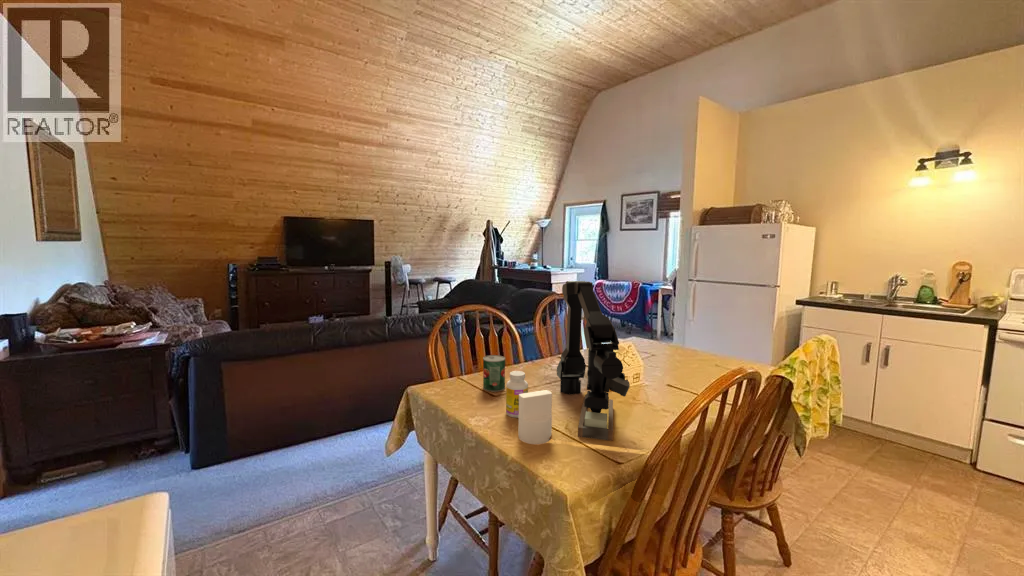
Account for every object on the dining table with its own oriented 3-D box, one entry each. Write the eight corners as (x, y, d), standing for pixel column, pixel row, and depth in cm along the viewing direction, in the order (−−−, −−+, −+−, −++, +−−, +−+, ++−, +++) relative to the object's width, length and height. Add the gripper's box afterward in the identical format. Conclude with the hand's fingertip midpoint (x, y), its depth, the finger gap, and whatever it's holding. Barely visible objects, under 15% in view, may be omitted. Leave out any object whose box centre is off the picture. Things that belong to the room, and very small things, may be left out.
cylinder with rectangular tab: (527, 446, 108) (527, 402, 106) (513, 432, 116) (513, 390, 114) (557, 440, 111) (558, 397, 110) (541, 426, 119) (542, 386, 118)
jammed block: (584, 434, 113) (584, 418, 112) (585, 426, 117) (585, 411, 117) (606, 436, 112) (606, 420, 111) (606, 429, 116) (607, 413, 116)
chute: (577, 439, 112) (578, 427, 111) (583, 407, 133) (583, 396, 133) (612, 443, 110) (612, 431, 109) (612, 410, 131) (612, 399, 131)
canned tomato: (509, 389, 149) (509, 359, 148) (490, 393, 145) (490, 362, 144) (497, 382, 156) (497, 353, 154) (479, 386, 151) (479, 357, 150)
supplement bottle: (512, 420, 124) (512, 378, 122) (502, 411, 129) (502, 371, 128) (531, 415, 127) (532, 374, 125) (521, 408, 132) (521, 368, 131)
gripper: (629, 380, 105) (627, 438, 107) (627, 358, 123) (625, 408, 125) (584, 376, 108) (583, 434, 110) (588, 355, 126) (587, 405, 128)
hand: (596, 419), depth 118 cm, fingers closed
